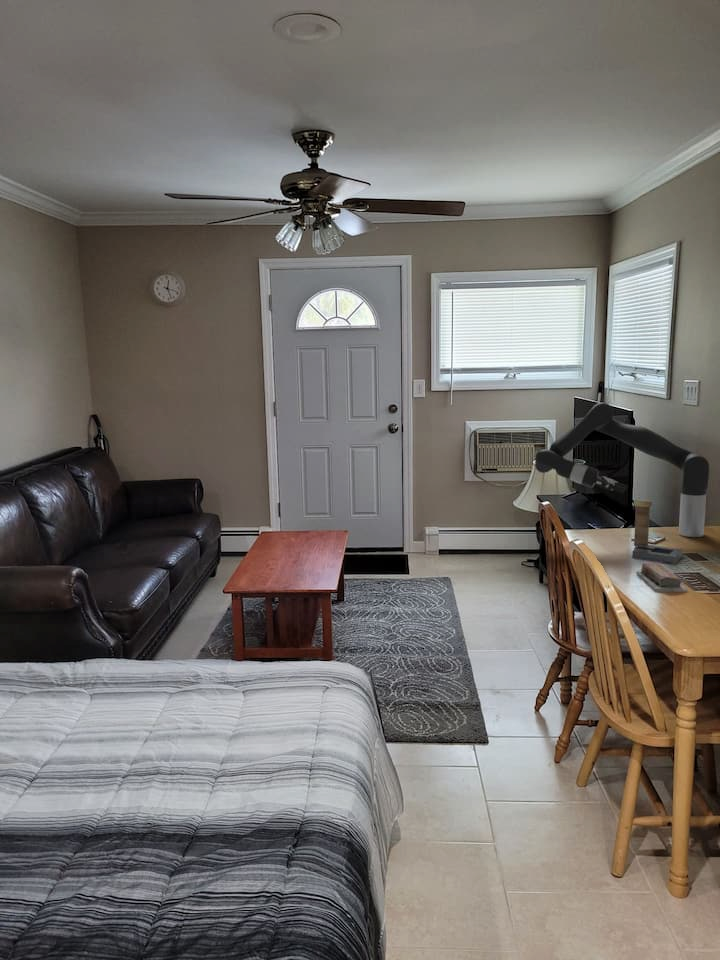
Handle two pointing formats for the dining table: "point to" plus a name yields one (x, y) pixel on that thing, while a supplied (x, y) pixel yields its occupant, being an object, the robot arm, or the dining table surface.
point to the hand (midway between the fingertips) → (625, 489)
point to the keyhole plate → (657, 553)
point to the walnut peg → (642, 521)
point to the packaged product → (660, 578)
